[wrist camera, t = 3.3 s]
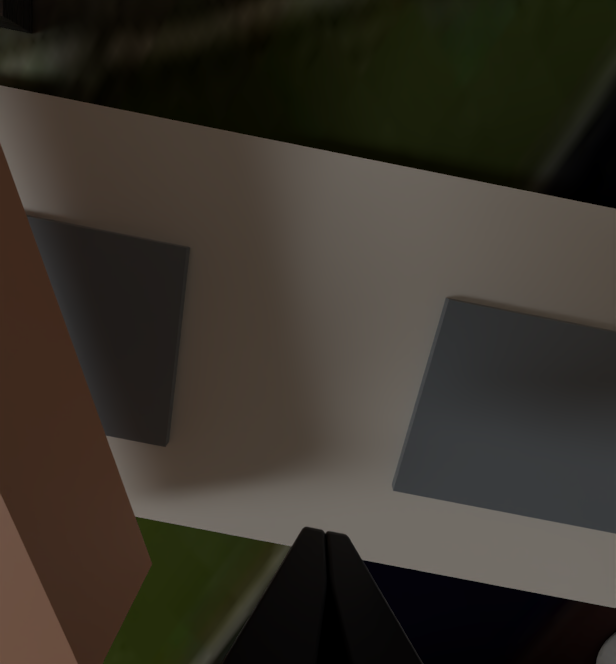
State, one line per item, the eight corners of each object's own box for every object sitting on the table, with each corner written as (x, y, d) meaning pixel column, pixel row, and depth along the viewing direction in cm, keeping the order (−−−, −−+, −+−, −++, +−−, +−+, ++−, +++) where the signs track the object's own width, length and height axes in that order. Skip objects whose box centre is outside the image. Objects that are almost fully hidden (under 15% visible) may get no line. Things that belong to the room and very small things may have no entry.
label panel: (629, 588, 15) (656, 623, 13) (-97, 449, 14) (-137, 472, 13) (804, 251, 11) (862, 256, 10) (-135, 63, 11) (-193, 45, 10)
